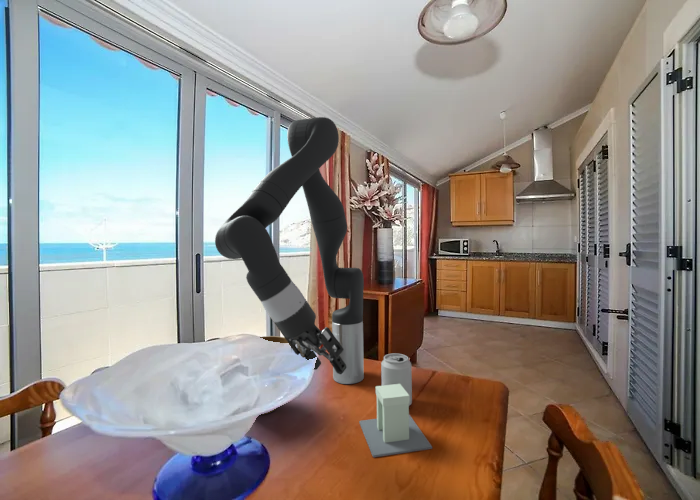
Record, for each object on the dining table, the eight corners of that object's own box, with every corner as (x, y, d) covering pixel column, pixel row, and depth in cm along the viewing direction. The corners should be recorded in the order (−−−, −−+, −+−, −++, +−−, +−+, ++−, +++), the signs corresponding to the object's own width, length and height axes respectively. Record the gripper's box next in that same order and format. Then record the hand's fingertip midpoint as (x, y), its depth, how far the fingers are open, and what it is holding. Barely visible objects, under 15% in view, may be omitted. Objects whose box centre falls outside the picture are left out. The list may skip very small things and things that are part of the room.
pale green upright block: (376, 427, 69) (375, 386, 69) (400, 423, 70) (399, 383, 70) (383, 442, 64) (383, 398, 64) (410, 439, 65) (409, 395, 65)
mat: (359, 422, 72) (359, 420, 72) (409, 416, 74) (409, 414, 74) (373, 457, 60) (372, 455, 60) (432, 448, 62) (432, 446, 62)
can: (411, 413, 75) (411, 363, 75) (380, 410, 77) (379, 361, 77) (412, 398, 83) (411, 352, 83) (383, 395, 84) (382, 350, 84)
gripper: (321, 294, 60) (362, 358, 64) (283, 298, 70) (320, 353, 75) (295, 320, 55) (341, 388, 59) (257, 321, 66) (299, 378, 70)
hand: (329, 368), depth 67 cm, fingers open, 8 cm apart
